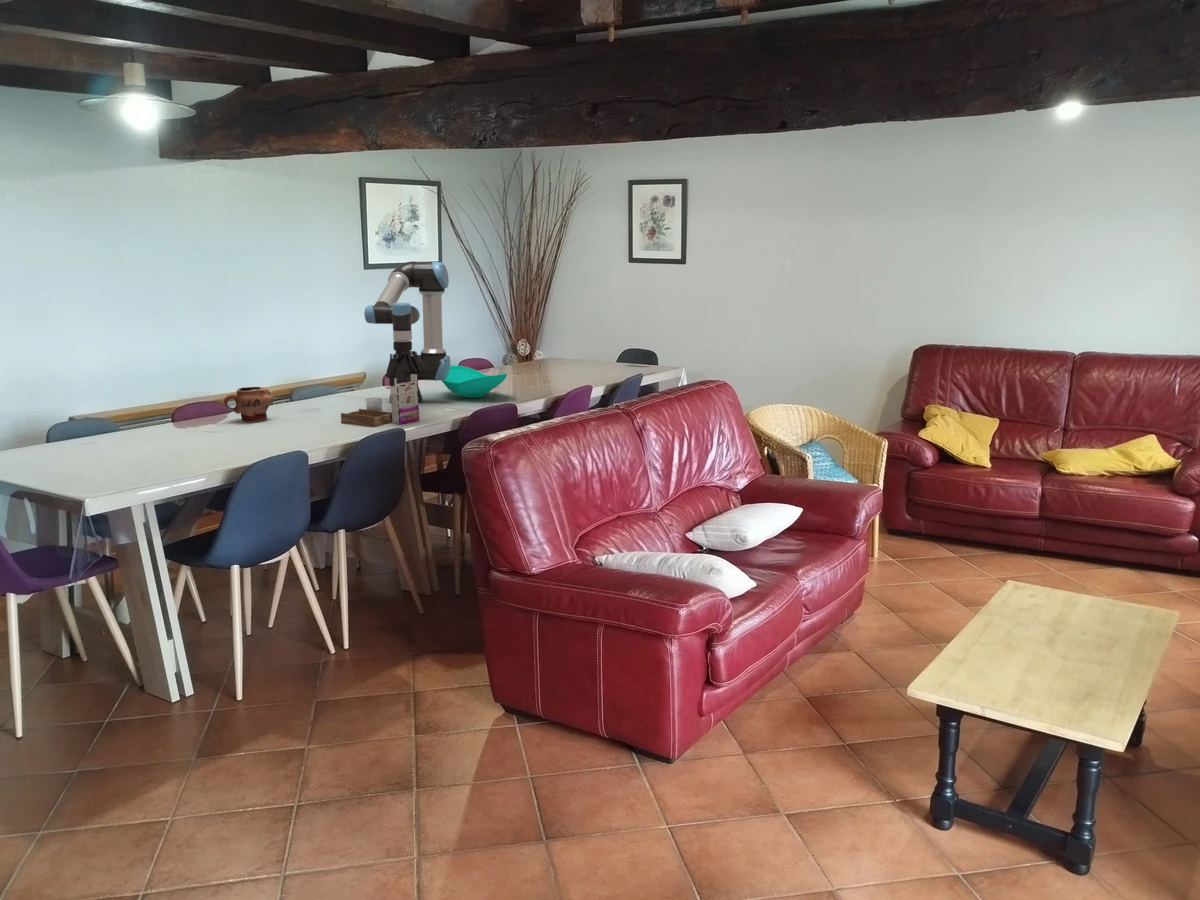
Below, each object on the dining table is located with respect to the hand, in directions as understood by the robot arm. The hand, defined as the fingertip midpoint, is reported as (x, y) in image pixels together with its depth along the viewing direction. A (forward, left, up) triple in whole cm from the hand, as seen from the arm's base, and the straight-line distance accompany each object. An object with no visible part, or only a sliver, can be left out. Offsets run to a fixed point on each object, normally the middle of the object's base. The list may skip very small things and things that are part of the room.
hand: (404, 391), depth 383 cm
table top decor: (-64, -9, -13) cm, 66 cm away
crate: (+9, -13, -13) cm, 20 cm away
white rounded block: (-2, -18, -13) cm, 22 cm away
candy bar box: (0, 0, -13) cm, 13 cm away
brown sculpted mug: (+30, -57, -13) cm, 66 cm away
